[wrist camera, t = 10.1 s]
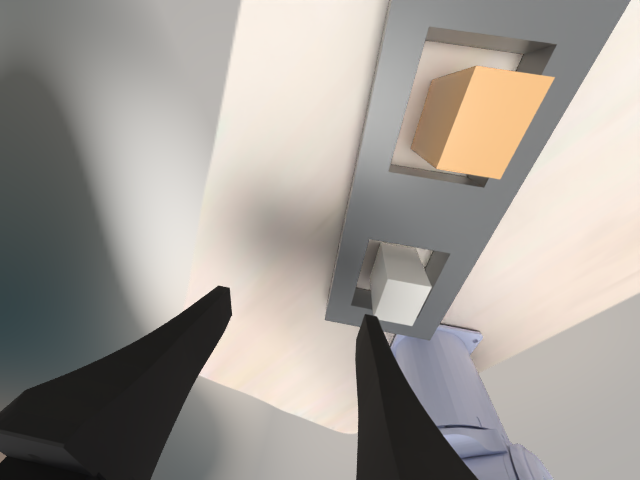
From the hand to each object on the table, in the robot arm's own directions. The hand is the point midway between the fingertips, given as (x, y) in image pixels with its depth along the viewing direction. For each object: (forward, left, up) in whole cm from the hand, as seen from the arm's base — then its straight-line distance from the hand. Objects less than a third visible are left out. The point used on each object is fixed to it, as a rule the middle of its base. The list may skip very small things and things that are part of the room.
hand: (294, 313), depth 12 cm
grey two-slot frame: (+4, -7, -9) cm, 12 cm away
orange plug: (+10, -7, -10) cm, 15 cm away
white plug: (-2, -7, -10) cm, 12 cm away
